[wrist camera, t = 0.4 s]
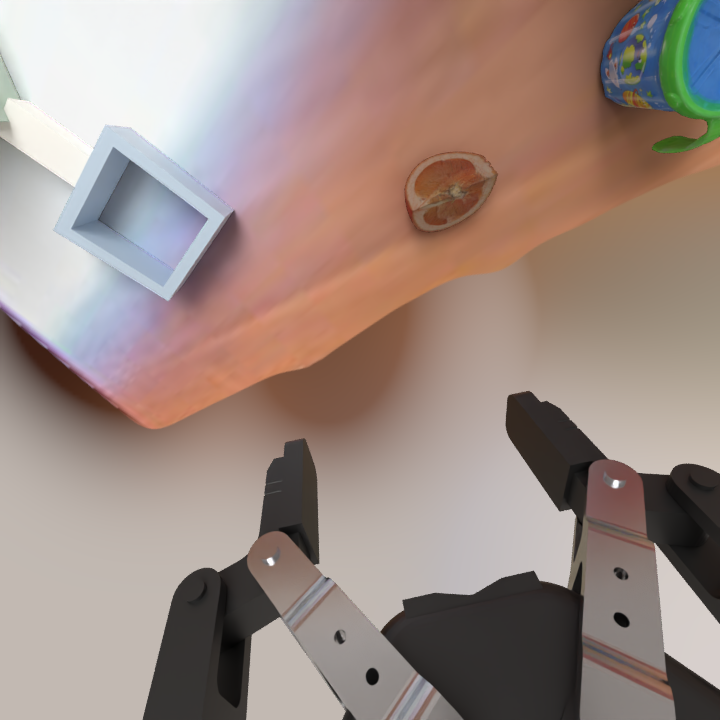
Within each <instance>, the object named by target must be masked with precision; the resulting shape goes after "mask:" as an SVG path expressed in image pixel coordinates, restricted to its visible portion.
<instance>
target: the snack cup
mask: <svg viewBox="0 0 720 720" xmlns="http://www.w3.org/2000/svg"><path fill="white" fill-rule="evenodd" d="M600 71H601V79H602V83H603V85H604V92H605V96H606V97H607V98H609V99H611V100H613V101H614V102H615V103H617V104H619V105H622V106H627V107H636V108H644V109H655V110H662V111H676V112H678V113H679V114H681V115H682V116H685V117H688V118H693V119H703V120H705V121H707V125H708V131H707V133H706V134H704V135H703V136H701V137H700V138H698V139H692V138H687V137H683V136H672V137H670V138H666V139H664V140H661V141H659V142H657V143H656V144H654V145H653V147H652V150H654V151H656V152H659V153H677V152H683V151H688V150H691V149H694V148H696V147H699V146H701V145H703V144H706V143H708V142H711V141H713V140H714V139H716V138H718V137H720V0H642V1H641V2H639V3H638V4H637V5H636V6H635V7H634V8H632V9H631V10H630V11H629V12H628V13H627V14H626V15H625V16H624V17H623V18H622V19H621V20H620V22H619V23H618V24H617V26H616V27H615V29H614V31H613V33H612V35H611V37H610V38H609V39H608V40H607V42H606V43H605V46H604V49H603V60H602V63H601V70H600Z"/></svg>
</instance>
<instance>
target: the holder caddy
mask: <svg viewBox="0 0 720 720" xmlns="http://www.w3.org/2000/svg"><path fill="white" fill-rule="evenodd" d="M0 137H1V138H3V139H4V140H6V141H7V142H9V143H10V144H12V145H13V146H14V147H16V148H17V149H19V150H20V151H22V152H23V153H25V154H26V155H28V156H29V157H31V158H32V159H34V160H35V161H37V162H38V163H40V164H41V165H42V166H44V167H45V168H47V169H48V170H50V171H51V172H53V173H54V174H56V175H57V176H59V177H60V178H62V179H63V180H65V181H66V182H68V183H69V184H70V185H72V186H73V187H74V189H73V191H72V193H71V195H70V197H69V199H68V201H67V203H66V205H65V207H64V209H63V211H62V213H61V215H60V217H59V220H58V222H57V224H56V226H55V228H54V230H53V231H55V232H57V233H58V234H60V235H61V236H63V237H65V238H66V239H68V240H70V241H71V242H73V243H74V244H76V245H78V246H79V247H81V248H83V249H84V250H86V251H87V252H89V253H91V254H92V255H94V256H96V257H97V258H99V259H100V260H102V261H104V262H105V263H107V264H108V265H110V266H112V267H113V268H115V269H117V270H118V271H120V272H121V273H123V274H125V275H126V276H128V277H130V278H131V279H133V280H134V281H136V282H138V283H139V284H141V285H143V286H144V287H146V288H147V289H149V290H151V291H152V292H154V293H156V294H157V295H159V296H160V297H162V298H164V299H165V300H167V301H169V300H170V299H171V298H172V297H173V296H174V295H175V293H176V292H177V291H178V290H179V289H180V288H181V287H182V286H183V284H184V283H185V281H186V280H187V278H188V277H189V275H190V274H191V273H192V271H193V270H194V268H195V267H196V265H197V264H198V262H199V261H200V259H201V258H202V256H203V255H204V253H205V252H206V250H207V249H208V248H209V246H210V245H211V243H212V242H213V240H214V239H215V237H216V236H217V234H218V233H219V231H220V230H221V228H222V227H223V226H224V224H225V223H226V221H227V220H228V218H229V217H230V215H231V214H232V212H233V211H234V209H233V208H231V207H230V206H229V205H228V204H226V203H225V202H224V201H222V200H221V199H220V198H219V197H217V196H216V195H215V194H214V193H212V192H211V191H210V190H209V189H207V188H206V187H205V186H204V185H202V184H201V183H200V182H199V181H197V180H196V179H195V178H194V177H192V176H191V175H190V174H189V173H187V172H186V171H185V170H183V169H182V168H181V167H180V166H178V165H177V164H176V163H175V162H173V161H172V160H171V159H170V158H168V157H167V156H166V155H165V154H163V153H162V152H161V151H160V150H158V149H157V148H156V147H155V146H153V145H152V144H151V143H150V142H148V141H147V140H146V139H144V138H143V137H142V136H141V135H139V134H138V133H137V132H136V131H134V130H133V129H132V128H129V127H120V126H112V125H105V127H104V129H103V131H102V133H101V135H100V137H99V139H98V141H97V143H96V145H95V147H94V148H93V147H91V146H90V145H88V144H87V143H86V142H84V141H83V140H82V139H80V138H79V137H78V136H76V135H75V134H74V133H72V132H71V131H69V130H68V129H67V128H65V127H64V126H63V125H61V124H60V123H59V122H57V121H56V120H55V119H53V118H52V117H50V116H49V115H48V114H46V113H45V112H44V111H42V110H41V109H40V108H38V107H37V106H36V105H34V104H33V103H32V102H30V101H24V100H20V97H19V95H18V93H17V91H16V88H15V86H14V84H13V82H12V80H11V77H10V75H9V73H8V71H7V68H6V66H5V64H4V62H3V59H2V57H1V55H0ZM130 160H131V161H133V162H134V163H135V164H137V165H138V166H139V167H141V168H142V169H143V170H145V171H146V172H147V173H149V174H150V175H151V176H153V177H154V178H155V179H157V180H158V181H159V182H161V183H162V184H163V185H165V186H166V187H167V188H168V189H170V190H171V191H172V192H174V193H175V194H176V195H178V196H179V197H180V198H182V199H183V200H184V201H186V202H187V203H188V204H190V205H191V206H192V207H194V208H195V209H196V210H198V211H199V212H200V213H202V214H203V215H204V216H205V217H207V218H208V220H207V222H206V223H205V225H204V226H203V228H202V229H201V231H200V232H199V234H198V235H197V237H196V238H195V240H194V241H193V243H192V244H191V246H190V247H189V249H188V250H187V252H186V253H185V255H184V256H183V258H182V260H181V261H180V263H179V264H178V266H177V267H176V269H175V270H173V269H172V268H170V267H169V266H167V265H166V264H164V263H163V262H161V261H160V260H158V259H157V258H155V257H153V256H152V255H150V254H149V253H147V252H146V251H144V250H143V249H141V248H140V247H138V246H137V245H135V244H134V243H132V242H131V241H129V240H128V239H126V238H125V237H123V236H122V235H120V234H119V233H117V232H116V231H114V230H113V229H111V228H110V227H108V226H106V225H105V224H103V223H102V222H100V221H99V220H98V219H99V217H100V215H101V213H102V211H103V209H104V208H105V206H106V204H107V202H108V200H109V198H110V197H111V195H112V193H113V191H114V189H115V187H116V185H117V184H118V182H119V180H120V178H121V176H122V174H123V172H124V171H125V169H126V167H127V165H128V163H129V161H130Z"/></svg>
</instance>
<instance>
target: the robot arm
mask: <svg viewBox="0 0 720 720" xmlns="http://www.w3.org/2000/svg"><path fill="white" fill-rule="evenodd" d="M506 430H507V433H508V436H509V438H510V440H511V441H512V443H513V444H514V446H515V447H516V449H517V450H518V451H519V453H520V454H521V456H522V457H523V459H524V460H525V462H526V463H527V465H528V466H529V468H530V469H531V470H532V472H533V473H534V475H535V476H536V478H537V479H538V481H539V482H540V483H541V485H542V487H543V488H544V489H545V491H546V492H547V494H548V495H549V497H550V498H551V500H552V501H553V503H554V504H555V505H556V507H557V508H558V510H559V511H564V510H569V509H572V510H573V512H574V513H575V515H576V519H575V527H574V539H573V550H572V561H571V571H570V577H569V583H568V588H565V587H563V586H560V585H557V584H553V583H549V582H543V581H539V579H538V578H537V576H536V574H535V572H534V571H531V572H526V573H522V574H517V575H513V576H508V577H504V578H501V579H499V580H498V581H496V582H494V583H492V584H491V585H489V586H487V587H485V588H484V589H482V590H481V591H479V592H477V593H475V594H473V595H457V594H443V593H432V594H428V595H424V596H419V597H414V598H410V599H405V600H403V606H404V611H402V612H401V613H399V614H397V615H396V616H395V617H394V618H392V619H391V620H390V621H389V622H388V623H387V624H386V625H385V626H384V628H383V629H382V630H381V632H380V631H379V630H378V629H377V628H376V627H375V626H374V625H373V624H372V623H371V622H370V620H369V619H368V618H367V617H366V616H365V615H364V614H363V613H362V612H361V610H360V609H359V608H358V607H357V606H356V605H355V604H354V603H353V602H352V601H351V600H350V599H349V598H348V596H347V595H346V594H345V593H344V592H343V591H342V590H341V589H340V588H339V586H338V585H337V584H336V583H335V582H334V581H333V580H332V579H330V578H326V577H325V576H324V575H322V573H321V572H320V571H319V570H318V569H317V568H316V567H315V566H314V565H315V564H319V534H318V499H317V476H316V469H315V465H314V462H313V459H312V456H311V454H310V451H309V448H308V445H307V442H306V440H305V439H304V438H303V439H299V440H294V441H289V442H286V443H285V448H284V457H281V458H276V459H274V460H273V461H272V463H271V465H270V467H269V469H268V470H267V477H266V486H265V496H264V501H263V509H262V517H261V525H260V532H259V537H258V539H257V540H256V541H255V543H254V544H253V545H252V547H251V548H250V551H249V553H248V555H246V556H245V557H244V558H243V559H241V560H240V561H238V562H236V563H234V564H233V565H231V566H229V567H227V568H225V569H224V570H222V571H220V572H217V571H215V570H214V569H212V568H202V569H199V570H197V571H194V572H193V573H191V574H190V575H188V576H187V577H186V578H185V579H184V580H183V581H182V582H181V584H180V585H179V586H178V588H177V589H176V591H175V593H174V596H173V599H172V602H171V606H170V611H169V615H168V619H167V623H166V627H165V631H164V635H163V639H162V643H161V648H160V651H159V656H158V659H157V663H156V667H155V672H154V676H153V680H152V684H151V688H150V692H149V696H148V700H147V704H146V708H145V712H144V716H143V720H246V713H247V696H248V682H249V666H250V651H251V636H252V634H253V633H255V632H256V631H258V630H259V629H261V628H263V627H264V626H266V625H268V624H269V623H271V622H272V621H274V620H276V619H277V618H278V617H280V618H281V619H282V621H283V622H284V623H285V625H286V626H287V627H288V629H289V631H290V632H291V633H292V635H293V636H294V638H295V639H296V640H297V642H298V643H299V645H300V646H301V647H302V649H303V650H304V652H305V653H306V655H307V656H308V658H309V659H310V660H311V662H312V663H313V665H314V666H315V668H316V669H317V671H318V672H319V674H320V675H321V676H322V678H323V680H324V681H325V682H326V684H327V685H328V687H329V688H330V690H331V691H332V692H333V694H334V695H335V697H336V698H337V700H338V701H339V702H340V704H341V705H342V707H343V708H344V710H345V711H346V712H345V715H344V717H343V719H342V720H720V690H719V689H718V688H716V687H715V686H713V685H712V684H710V683H709V682H707V681H706V680H705V679H703V678H702V677H700V676H698V675H697V674H696V673H694V672H693V671H691V670H690V669H688V668H687V667H685V666H684V665H683V664H681V663H680V662H678V661H677V660H675V659H674V658H672V657H671V656H669V655H668V654H666V653H665V652H664V644H663V632H662V621H661V610H660V598H659V587H658V576H657V564H656V554H655V546H654V543H656V545H657V546H658V547H659V548H660V550H661V551H662V552H663V553H664V554H665V556H666V557H667V558H668V560H669V561H670V562H671V563H672V565H673V566H674V567H675V568H676V570H677V571H678V572H679V573H680V575H681V576H682V577H683V578H684V580H685V581H686V582H687V583H688V585H689V586H690V587H691V588H692V590H693V591H694V592H695V593H696V595H697V596H698V597H699V598H700V600H701V601H702V602H703V603H704V605H705V606H706V607H707V609H708V610H709V611H710V612H711V614H712V615H713V616H714V617H715V618H716V620H717V621H718V622H719V624H720V474H719V473H717V472H715V471H713V470H711V469H709V468H706V467H703V466H700V465H696V464H680V465H678V466H675V467H674V468H673V470H672V472H671V473H670V475H659V474H643V473H637V472H636V471H635V470H633V469H632V468H631V467H629V466H628V465H625V464H624V463H621V462H618V461H615V460H609V459H607V457H606V456H605V455H604V454H603V453H602V452H601V451H600V450H599V449H598V448H597V447H596V446H595V445H594V444H593V443H592V442H591V441H590V439H589V438H588V437H587V436H586V435H585V434H584V433H583V432H582V431H581V430H580V429H578V428H577V426H576V425H575V424H574V423H573V422H572V421H571V420H569V417H567V415H566V414H565V413H564V412H563V411H562V410H561V409H560V408H558V407H556V406H555V405H553V404H551V403H549V402H547V401H545V402H540V401H539V400H538V399H537V398H536V397H535V396H534V394H533V393H532V392H530V391H526V392H521V393H517V394H512V395H509V396H508V399H507V412H506Z"/></svg>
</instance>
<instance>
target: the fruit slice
mask: <svg viewBox="0 0 720 720" xmlns="http://www.w3.org/2000/svg"><path fill="white" fill-rule="evenodd" d="M490 165H491V164H490V162H489V161H486V159H485V157H484V156H482V155H479V154H475V153H469V152H448V153H442V154H438V155H435V156H432V157H430V158H427V159H426V160H424V161H422V162H421V163H420V164H418V165H417V166H416V167H415V168H414V170H413V171H412V172H411V174H410V175H409V177H408V179H407V182H406V185H405V202H406V207H407V210H408V213H409V216H410V218H411V220H412V223H413V224H414V226H415V227H416V228H418V229H419V230H421V231H424V232H436V231H441V230H444V229H447V228H449V227H451V226H454V225H456V224H458V223H459V222H461V221H463V220H464V219H466V218H468V217H469V216H471V215H472V214H473V213H475V212H476V211H477V210H478V209H479V208H480V207H481V206H482V205H483V203H484V202H485V201H486V199H487V197H488V196H489V195H490V193H491V191H492V189H493V186H494V184H495V182H496V179H497V176H498V173H497V172H496V171H495V170H494V169H493V167H492V166H490Z"/></svg>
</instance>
